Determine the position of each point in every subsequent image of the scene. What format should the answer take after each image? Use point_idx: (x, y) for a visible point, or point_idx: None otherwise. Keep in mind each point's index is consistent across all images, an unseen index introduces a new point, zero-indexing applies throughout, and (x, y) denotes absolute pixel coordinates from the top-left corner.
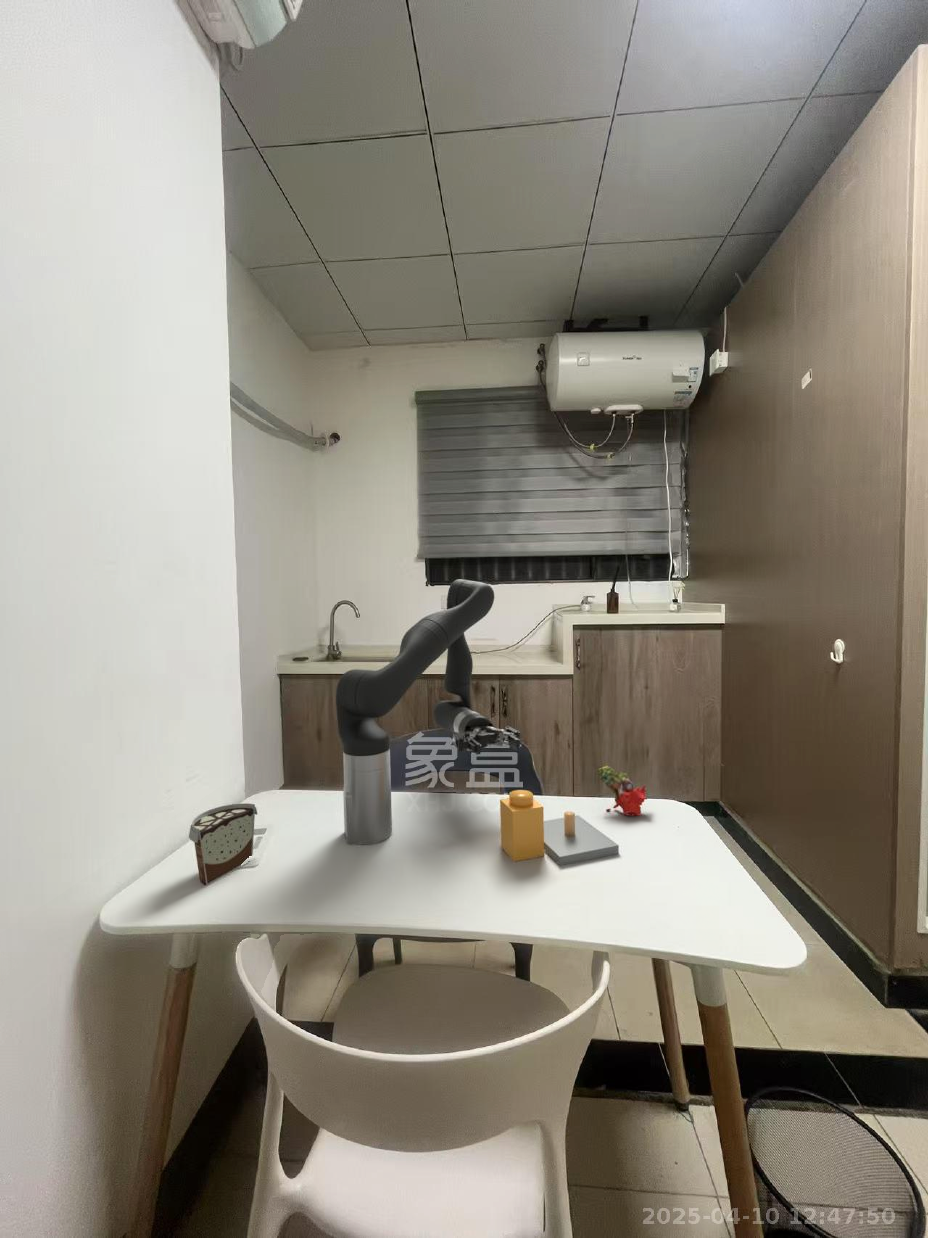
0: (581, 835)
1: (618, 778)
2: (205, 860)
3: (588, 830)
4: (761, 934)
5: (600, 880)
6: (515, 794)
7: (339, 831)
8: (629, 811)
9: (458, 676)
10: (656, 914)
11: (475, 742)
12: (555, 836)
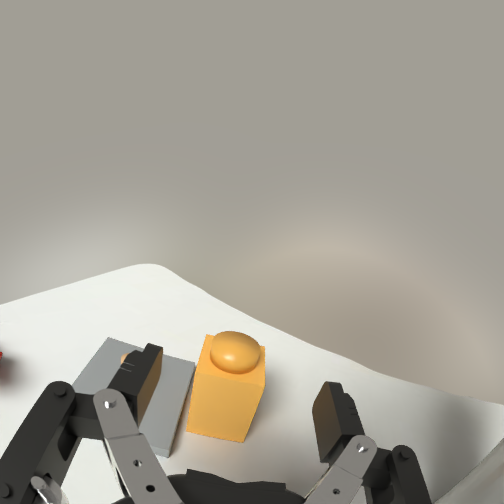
0: None
1: None
2: None
3: (97, 374)
4: (141, 271)
5: (176, 337)
6: (247, 349)
7: None
8: (1, 352)
9: None
10: (177, 301)
11: (342, 399)
12: (156, 394)
